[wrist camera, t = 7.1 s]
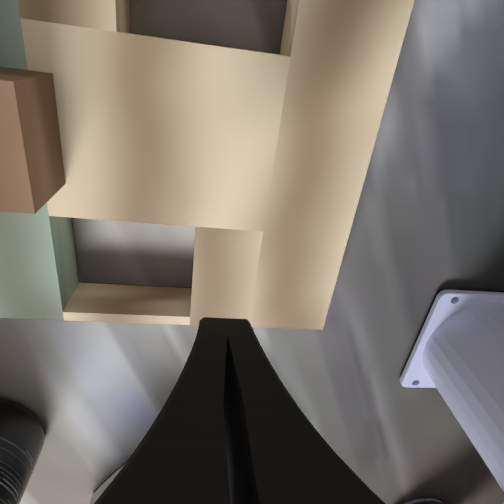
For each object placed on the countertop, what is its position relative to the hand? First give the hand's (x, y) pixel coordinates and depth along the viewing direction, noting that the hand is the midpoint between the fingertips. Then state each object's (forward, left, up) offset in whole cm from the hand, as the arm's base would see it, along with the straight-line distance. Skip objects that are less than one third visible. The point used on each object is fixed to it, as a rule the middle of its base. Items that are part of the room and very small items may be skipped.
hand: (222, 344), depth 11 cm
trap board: (+2, -4, -9) cm, 10 cm away
